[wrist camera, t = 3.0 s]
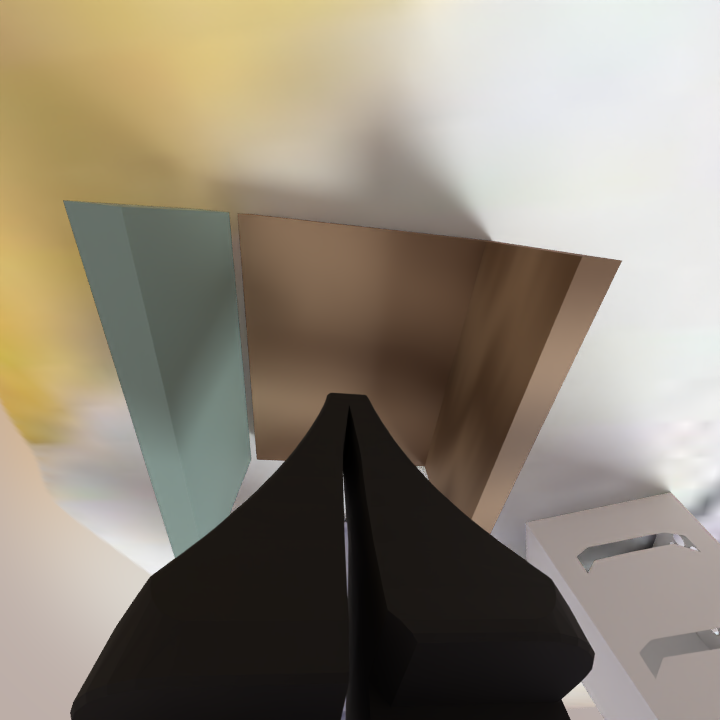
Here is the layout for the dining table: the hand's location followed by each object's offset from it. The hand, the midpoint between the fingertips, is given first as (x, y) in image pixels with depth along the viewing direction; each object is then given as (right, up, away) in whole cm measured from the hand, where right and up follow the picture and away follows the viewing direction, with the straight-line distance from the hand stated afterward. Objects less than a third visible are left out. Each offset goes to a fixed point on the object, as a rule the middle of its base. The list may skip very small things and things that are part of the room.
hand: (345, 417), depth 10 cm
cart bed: (+1, +2, +5) cm, 5 cm away
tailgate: (-5, +2, +3) cm, 6 cm away
